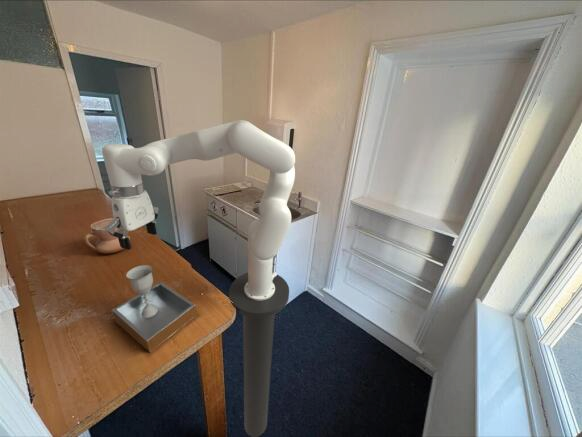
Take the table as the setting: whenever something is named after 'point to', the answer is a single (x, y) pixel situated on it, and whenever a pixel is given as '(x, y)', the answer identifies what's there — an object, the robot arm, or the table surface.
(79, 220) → the table surface
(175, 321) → the grey rectangular tray
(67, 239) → the table surface
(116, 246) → the ceramic jug
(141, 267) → the chalice
